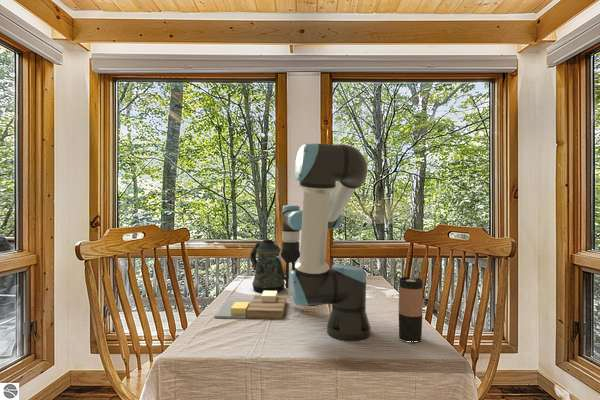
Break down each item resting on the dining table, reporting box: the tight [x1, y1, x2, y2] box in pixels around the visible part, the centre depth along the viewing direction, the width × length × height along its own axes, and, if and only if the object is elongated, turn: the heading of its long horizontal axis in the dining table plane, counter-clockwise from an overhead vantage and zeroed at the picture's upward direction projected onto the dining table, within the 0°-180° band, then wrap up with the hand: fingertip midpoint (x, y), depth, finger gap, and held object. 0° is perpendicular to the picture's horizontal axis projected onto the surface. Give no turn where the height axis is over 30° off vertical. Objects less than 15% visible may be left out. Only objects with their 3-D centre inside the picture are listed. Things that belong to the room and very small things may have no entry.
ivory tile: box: [260, 291, 278, 302], centre depth 163 cm, size 9×6×2 cm, turn 178°
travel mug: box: [398, 276, 424, 342], centre depth 126 cm, size 8×8×20 cm
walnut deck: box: [246, 294, 287, 319], centre depth 157 cm, size 22×14×3 cm, turn 178°
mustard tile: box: [231, 302, 250, 315], centre depth 152 cm, size 9×6×2 cm, turn 178°
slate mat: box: [214, 298, 253, 320], centre depth 158 cm, size 24×12×1 cm, turn 178°
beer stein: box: [249, 239, 286, 294], centre depth 192 cm, size 16×19×25 cm
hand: (290, 295), depth 163 cm, fingers closed
